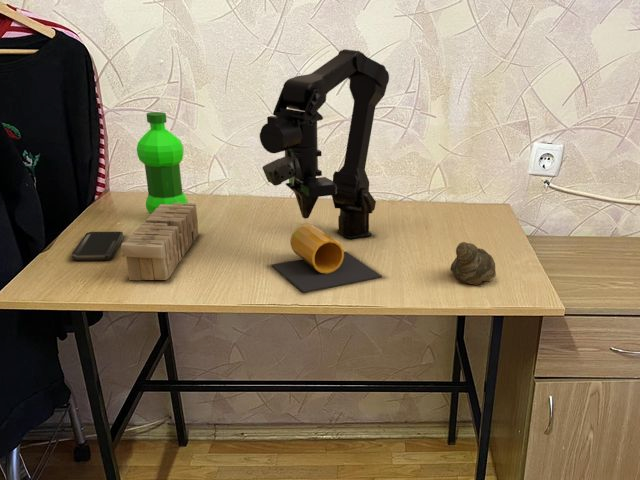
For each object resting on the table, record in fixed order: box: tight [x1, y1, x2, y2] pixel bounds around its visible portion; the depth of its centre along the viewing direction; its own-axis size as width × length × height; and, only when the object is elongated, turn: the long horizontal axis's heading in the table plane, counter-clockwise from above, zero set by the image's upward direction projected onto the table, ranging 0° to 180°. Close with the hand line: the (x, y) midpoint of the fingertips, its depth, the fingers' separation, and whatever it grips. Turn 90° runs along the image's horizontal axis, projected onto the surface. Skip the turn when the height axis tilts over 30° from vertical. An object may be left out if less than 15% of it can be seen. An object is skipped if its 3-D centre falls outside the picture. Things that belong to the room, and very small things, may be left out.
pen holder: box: [290, 224, 345, 274], centre depth 153 cm, size 7×7×11 cm
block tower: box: [120, 202, 199, 281], centre depth 153 cm, size 8×8×29 cm
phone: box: [71, 231, 125, 262], centre depth 156 cm, size 8×1×15 cm
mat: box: [271, 251, 383, 294], centre depth 152 cm, size 18×16×1 cm
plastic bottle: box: [136, 111, 189, 215], centre depth 171 cm, size 10×10×25 cm
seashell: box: [450, 241, 497, 286], centre depth 152 cm, size 11×12×10 cm
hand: (305, 217), depth 155 cm, fingers closed
